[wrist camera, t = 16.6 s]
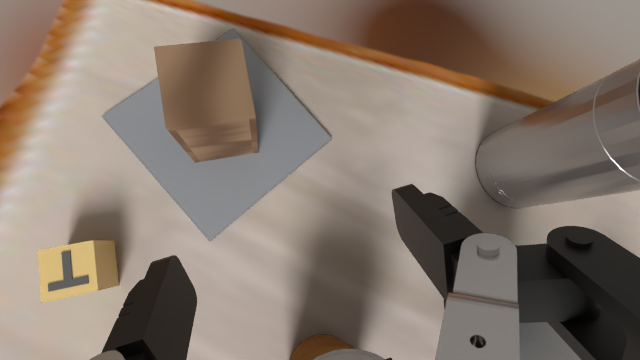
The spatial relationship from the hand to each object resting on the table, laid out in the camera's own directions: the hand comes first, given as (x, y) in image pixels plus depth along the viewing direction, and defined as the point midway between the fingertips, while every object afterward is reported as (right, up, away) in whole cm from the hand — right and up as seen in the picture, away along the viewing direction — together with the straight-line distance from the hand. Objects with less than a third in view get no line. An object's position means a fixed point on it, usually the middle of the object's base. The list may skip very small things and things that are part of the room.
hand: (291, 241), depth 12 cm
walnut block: (-9, +7, +22) cm, 25 cm away
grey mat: (-9, +7, +22) cm, 25 cm away
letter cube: (-19, -6, +18) cm, 27 cm away
